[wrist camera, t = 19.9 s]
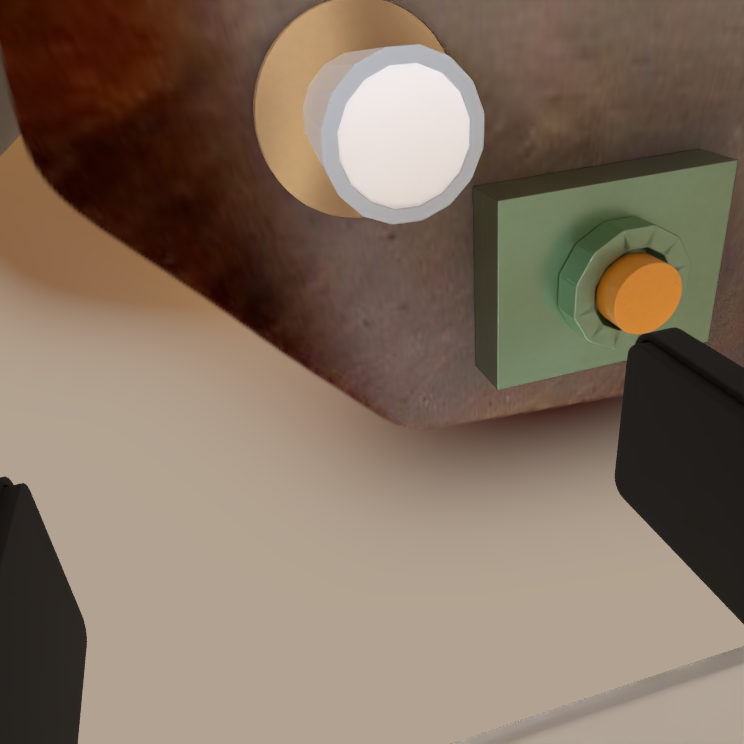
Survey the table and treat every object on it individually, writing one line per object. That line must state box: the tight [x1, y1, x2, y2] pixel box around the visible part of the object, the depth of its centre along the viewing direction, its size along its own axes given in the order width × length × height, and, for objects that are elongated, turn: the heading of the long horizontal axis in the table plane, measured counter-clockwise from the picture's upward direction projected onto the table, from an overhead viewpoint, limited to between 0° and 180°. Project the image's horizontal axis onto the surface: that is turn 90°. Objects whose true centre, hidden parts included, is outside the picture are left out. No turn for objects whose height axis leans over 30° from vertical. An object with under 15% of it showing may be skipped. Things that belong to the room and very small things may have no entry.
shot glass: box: [302, 44, 484, 224], centre depth 30 cm, size 7×7×7 cm
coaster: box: [253, 0, 445, 218], centre depth 34 cm, size 10×10×1 cm
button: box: [596, 252, 682, 335], centre depth 37 cm, size 4×4×2 cm
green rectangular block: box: [473, 149, 738, 390], centre depth 39 cm, size 14×11×5 cm
